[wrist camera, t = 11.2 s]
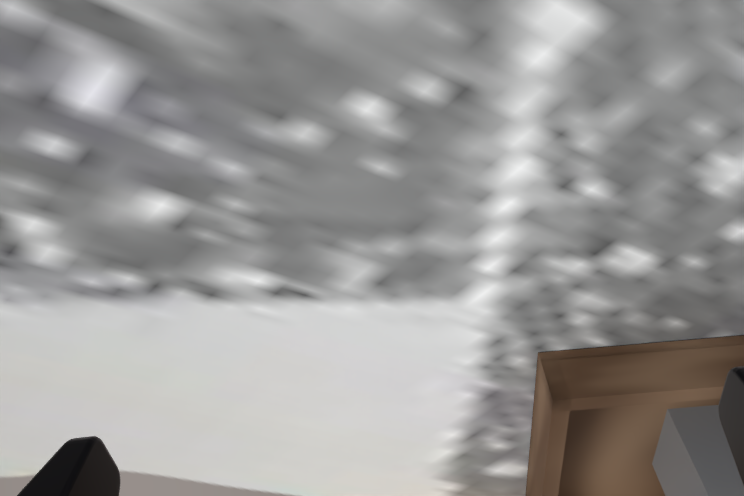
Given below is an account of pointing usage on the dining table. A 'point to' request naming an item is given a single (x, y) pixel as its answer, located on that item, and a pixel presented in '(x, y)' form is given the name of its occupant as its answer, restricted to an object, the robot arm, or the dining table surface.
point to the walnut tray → (617, 411)
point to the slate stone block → (695, 455)
